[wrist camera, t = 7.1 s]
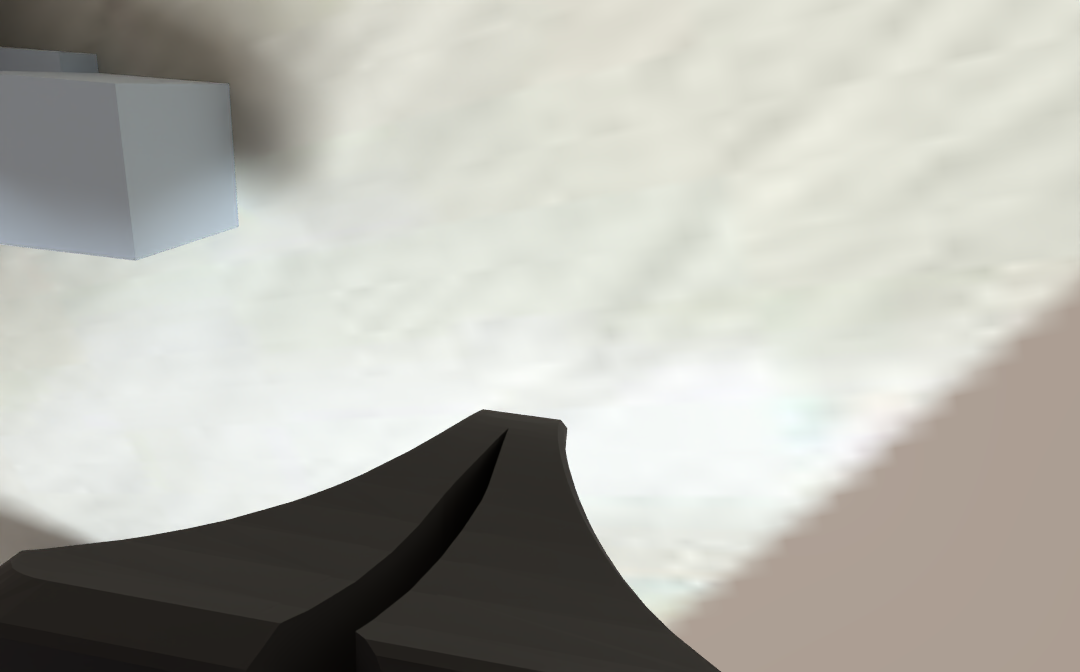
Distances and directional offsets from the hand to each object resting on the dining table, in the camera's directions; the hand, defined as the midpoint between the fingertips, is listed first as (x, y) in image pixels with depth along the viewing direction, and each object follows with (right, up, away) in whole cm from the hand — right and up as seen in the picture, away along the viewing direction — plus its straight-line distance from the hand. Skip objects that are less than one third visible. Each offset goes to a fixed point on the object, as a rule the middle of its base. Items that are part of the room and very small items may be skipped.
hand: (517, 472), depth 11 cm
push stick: (-16, +8, +11) cm, 21 cm away
